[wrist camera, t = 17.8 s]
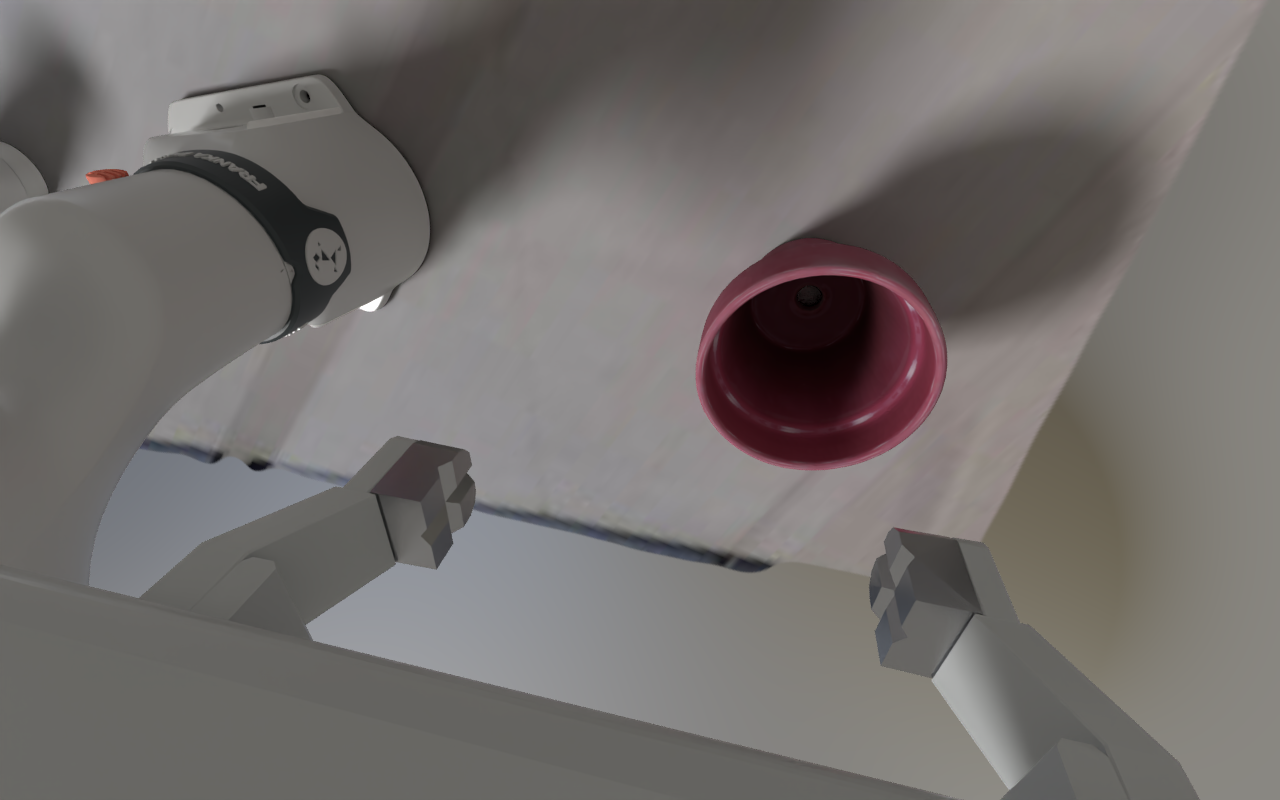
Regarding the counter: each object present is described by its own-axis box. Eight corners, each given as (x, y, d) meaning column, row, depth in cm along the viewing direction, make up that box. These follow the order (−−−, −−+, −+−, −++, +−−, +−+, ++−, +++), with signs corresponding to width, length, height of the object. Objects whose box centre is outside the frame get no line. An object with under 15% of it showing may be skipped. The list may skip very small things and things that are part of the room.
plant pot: (814, 404, 48) (824, 508, 37) (679, 314, 46) (651, 398, 35) (950, 275, 40) (1011, 361, 29) (794, 160, 38) (801, 209, 27)
